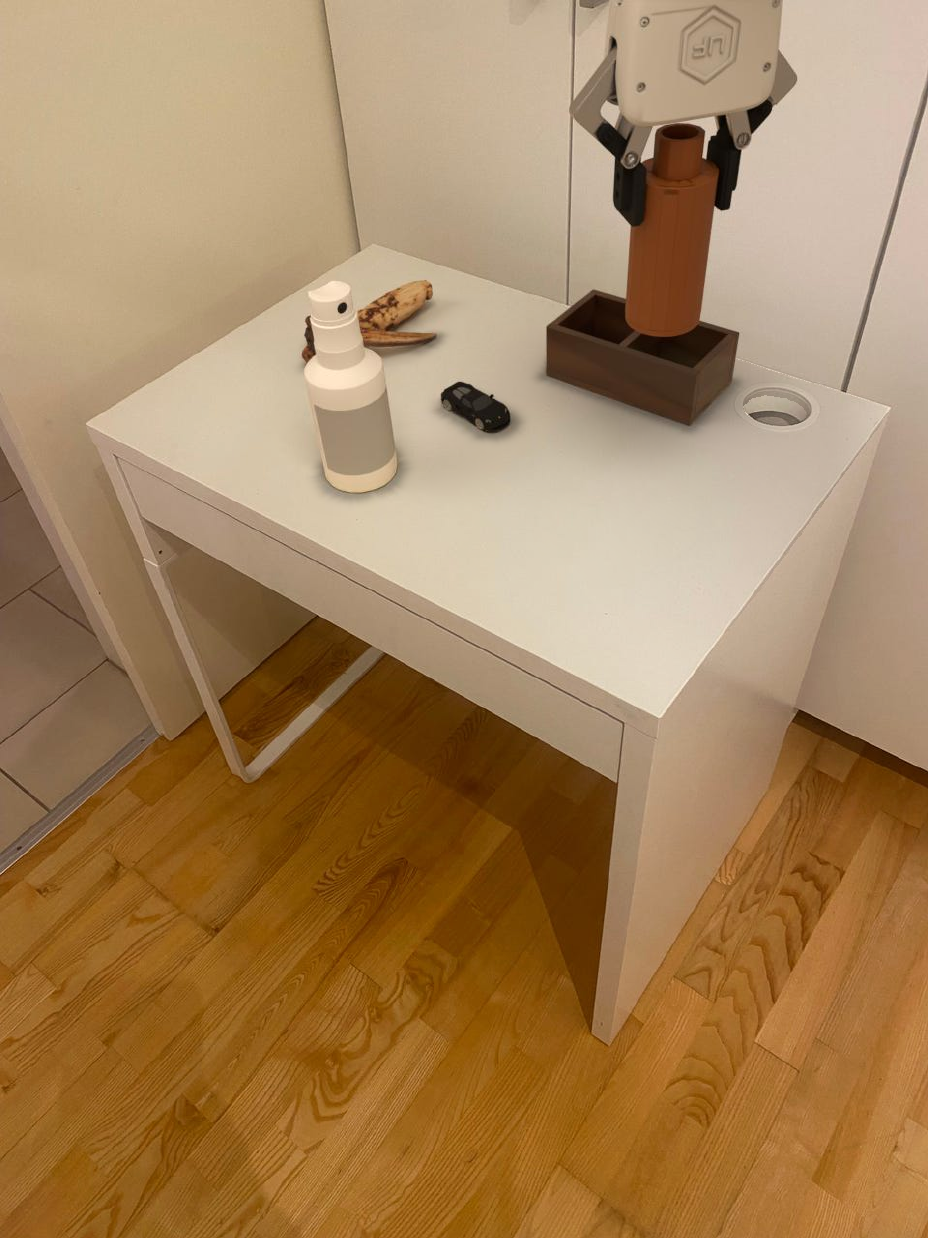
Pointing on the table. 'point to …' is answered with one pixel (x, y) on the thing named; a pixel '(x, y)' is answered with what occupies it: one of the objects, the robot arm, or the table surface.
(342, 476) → the spray bottle
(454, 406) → the toy car
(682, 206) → the bottle
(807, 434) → the table surface
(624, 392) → the holder
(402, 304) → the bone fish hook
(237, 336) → the table surface
